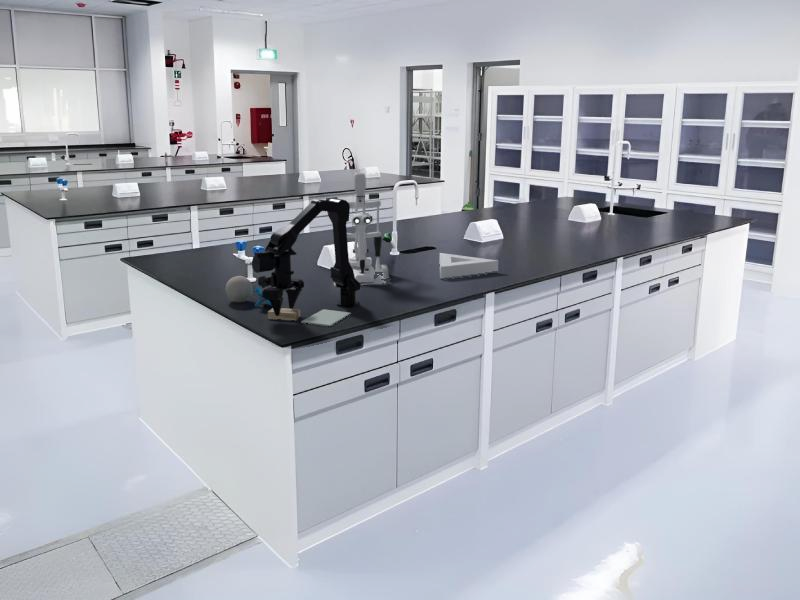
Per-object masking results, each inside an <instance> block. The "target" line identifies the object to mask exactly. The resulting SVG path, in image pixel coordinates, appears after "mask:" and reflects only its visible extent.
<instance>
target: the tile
mask: <svg viewBox="0 0 800 600" xmlns="http://www.w3.org/2000/svg"><path fill="white" fill-rule="evenodd" d="M299 317H300V318H301V309H300V308H293V309H290V308H285V307H283V308H282V307H281V310H280V314H279V316H276V315H275V312H274V310H273V307H272V308H271V309H270V310H268V311H267V319H268V320H277V319H281V320H280V321H291V320H295V321H297V320H298V319H299Z"/></svg>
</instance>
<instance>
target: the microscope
mask: <svg viewBox="0 0 800 600" xmlns="http://www.w3.org/2000/svg"><path fill="white" fill-rule="evenodd" d="M353 179H354V183H353V186H354V191H355V201H354V202H353V201H347V202H348V203H349V205H350V209H353V210H354V213H353V214H352V218H351V222H352V224H353V226H354V227H355V229H354V230H355V232H353V233H351V232H347V239H354V244H353V249H352V253H353V254H354V257H349V263H350V265H351V267H352V269H353V272H354V276H355V279H356V280H357V281H358V282H359V283H360V284H361V285H367V284H382V283H384V284H385V283H386V281H384V280H381V279H386V278H390V274H389V268H388V266H387V264H381V262H380V257H381V249H382V232H381V231H380V207H381V205H382V204H381V203H382V202H381V200H375V201H366V199H365V198H366V195H365V192H366V174H365V173H363V172H355V173H354V176H353ZM365 201H366V202H365ZM375 208H376V231H373V232H372V231H371V232H366V228H367V226H370V224H371V223H373V221H374V219H373V215H370V214H369V213H366V209H375ZM359 209H361V210H362V213H359ZM371 238H373V247H374V256H375V257H376V259H375V260H376V261H375V267H373V266H372V264H373V260H372V257H370V256H369V257H367V254H368V253H369V249H368V248H367V247H368V246H367V240H366V239H371ZM332 267H334V265H332ZM375 272H383V273H382V274H383V276H381V275H379V274H377V275H379V276H378V277H377V278H376V279H374V275H375ZM333 287H334V288H337V287H336V284H335V283H334V282H333Z"/></svg>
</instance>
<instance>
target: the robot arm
mask: <svg viewBox="0 0 800 600" xmlns="http://www.w3.org/2000/svg"><path fill="white" fill-rule="evenodd" d="M348 202H349V201H348V200H346V199H341V198H336V197H332V198H330V199H329V200H328V199H318V198H314V199H312V200H311V201H310V203H309V204H307V206H306V207H305V208H304V209H303V210H302V211H300V212H299V214H297V216H296V217H294V218H293V220H291V222H289V223H288V224H287V225H285V226H282V227H280V228H279V229H277V230H276V231H274V232H273V233H271V235H270V240H269V241H268V244H267V245H266V247H265V249H264V251H255V252H254V256H253V257H252V259H251V267H252V269H253V271H254V273H256V274H257V273H258V274H259V273H265V272H270V271H272V272H271V274H270V275H269V276H265V275H262V276H259V277H258V279H257V284H258V286H259V287H261V288H262V290H263V291H262V298H265V299H267V300H268V301H270V303H271V305H272V306H271V305H270V306H271V307H272V308H273V310H274V312H275V315H276V316H279V314H280V310H281V308H282V305H283V302H284V297H283V295H284V292H286V294H287V299H288V300H287V301H288V309H294V307H295V305H296V303H297V300H298V298H299V296H300V294H301V292H302V291H303V288H305V282H304V281H303V279H300V278H294V277H293V278H292V275H294V273H295V272H294V270H292V256H296V255H297V254H298V253H297V252H296V251H295V250H293V248H292V247H293V246H294V245H295V244H296V242H297V240H298V237H299V235H300V233H301V232H302V231H303V230H305V228H306V227H307V226H308V225H309V224H311V222H313V221H314V220H315V218H317V216H319V215H320V213H322V212H327V216H328V219H329V220H330V222H331V224H332V232H333V233H332V234H333V244H334V245H333V247H334V258H335V260H334V261H335V263H334V265H333V266H334V267H333V266H331V267H330V269H329V270H330V278H331V279H332V282H333V284H334V283H335V284H336V287H335V288H339V289H340V291H339V293H340V295H339V296H340V300H339V301H340V302H338V303H337V304H336V306H339V307H346V306H348V307H347V308H354V307H355V306H357V305H359V304H360V301H357V298H356V297H357V293H356V292H357V291H359V290H360V289H361V287H362V286H361V284H360V283H359V282H358V281H357V280H356V279H355V276H354V272H353V269H352V267H351V265H350V263H349V258H350V257H349V244H348V238H347V233H348V232H347V222H348V220H349V217H350V211H351V210H350V209H351V208H350V205H349V203H348ZM264 288H265V289H264ZM358 303H359V304H358ZM356 304H357V305H356ZM353 306H354V307H353Z"/></svg>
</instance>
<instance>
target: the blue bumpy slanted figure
mask: <svg viewBox="0 0 800 600" xmlns="http://www.w3.org/2000/svg"><path fill="white" fill-rule="evenodd" d="M253 290H254V291H255V293H256V294H257V295H258V296H259V300H258V301H257V302H256V303H255V304H254V307H256V308H258V307H259V305H260V304H261V303H263V302H265V303H266V304H267V305H269V306H271V307H272V305H271V303H270V301H268V300H267V299H265V298H262V291H263V290H264V289H263V288H262V289H260V287H258V286H254V288H253Z"/></svg>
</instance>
